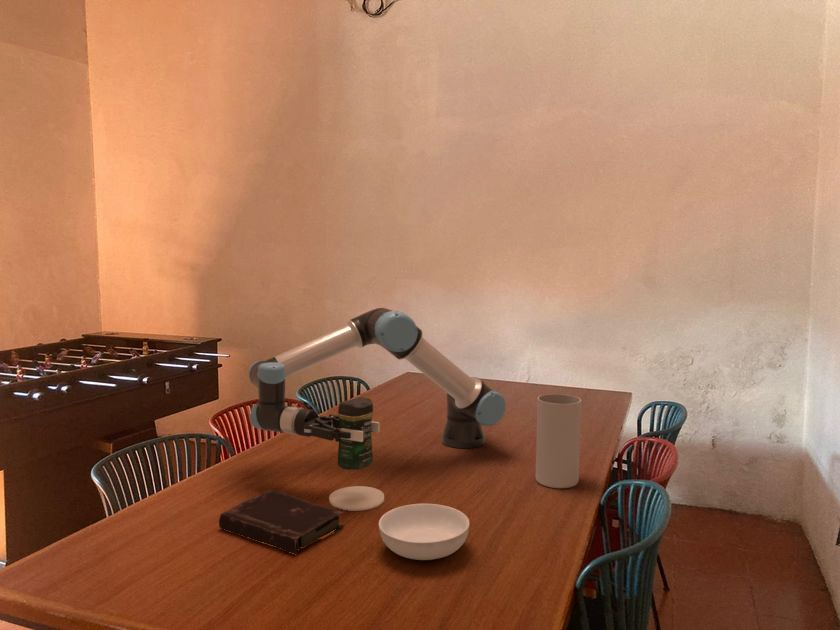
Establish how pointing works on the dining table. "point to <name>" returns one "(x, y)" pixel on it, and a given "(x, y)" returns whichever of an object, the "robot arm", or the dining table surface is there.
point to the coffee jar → (358, 418)
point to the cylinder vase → (558, 440)
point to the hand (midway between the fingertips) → (370, 432)
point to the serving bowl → (424, 530)
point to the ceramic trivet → (356, 498)
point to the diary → (280, 520)
